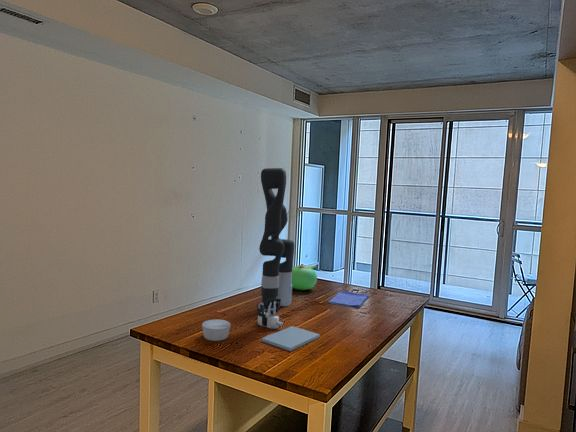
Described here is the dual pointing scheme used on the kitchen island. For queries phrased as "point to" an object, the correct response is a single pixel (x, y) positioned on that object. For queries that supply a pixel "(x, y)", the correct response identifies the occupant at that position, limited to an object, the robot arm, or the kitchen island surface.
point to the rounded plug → (271, 321)
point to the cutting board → (290, 338)
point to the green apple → (303, 277)
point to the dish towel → (349, 299)
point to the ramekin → (216, 329)
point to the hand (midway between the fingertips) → (268, 324)
